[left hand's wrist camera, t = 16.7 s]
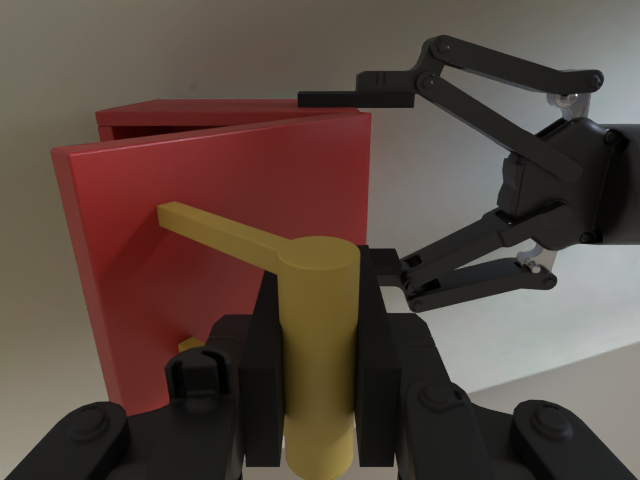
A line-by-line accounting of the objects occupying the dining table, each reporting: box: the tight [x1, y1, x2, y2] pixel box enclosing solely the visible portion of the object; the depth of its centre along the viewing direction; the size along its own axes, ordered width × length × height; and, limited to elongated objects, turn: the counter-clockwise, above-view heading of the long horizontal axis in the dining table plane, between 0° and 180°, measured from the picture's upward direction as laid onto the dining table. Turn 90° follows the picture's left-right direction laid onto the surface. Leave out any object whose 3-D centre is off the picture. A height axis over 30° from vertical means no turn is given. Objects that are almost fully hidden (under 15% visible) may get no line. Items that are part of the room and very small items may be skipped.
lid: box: [50, 111, 371, 480], centre depth 16 cm, size 14×10×9 cm
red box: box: [95, 98, 360, 142], centre depth 29 cm, size 14×10×10 cm
